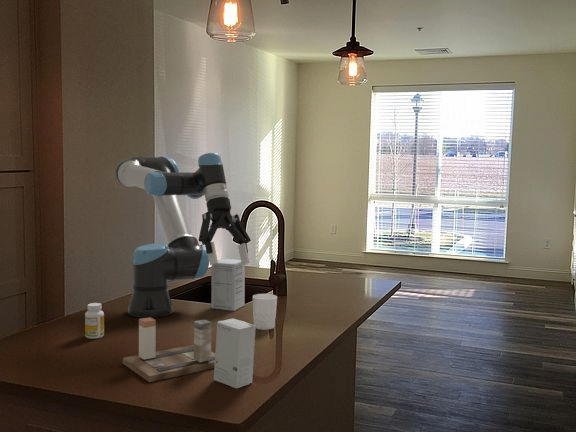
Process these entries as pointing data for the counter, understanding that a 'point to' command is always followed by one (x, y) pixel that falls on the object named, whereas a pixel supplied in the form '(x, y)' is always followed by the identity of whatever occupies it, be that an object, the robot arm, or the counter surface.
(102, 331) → the supplement bottle
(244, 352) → the skincare box
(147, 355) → the tab
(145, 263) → the robot arm
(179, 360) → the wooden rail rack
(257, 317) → the white cup
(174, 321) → the counter surface
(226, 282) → the supplement box
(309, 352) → the counter surface
